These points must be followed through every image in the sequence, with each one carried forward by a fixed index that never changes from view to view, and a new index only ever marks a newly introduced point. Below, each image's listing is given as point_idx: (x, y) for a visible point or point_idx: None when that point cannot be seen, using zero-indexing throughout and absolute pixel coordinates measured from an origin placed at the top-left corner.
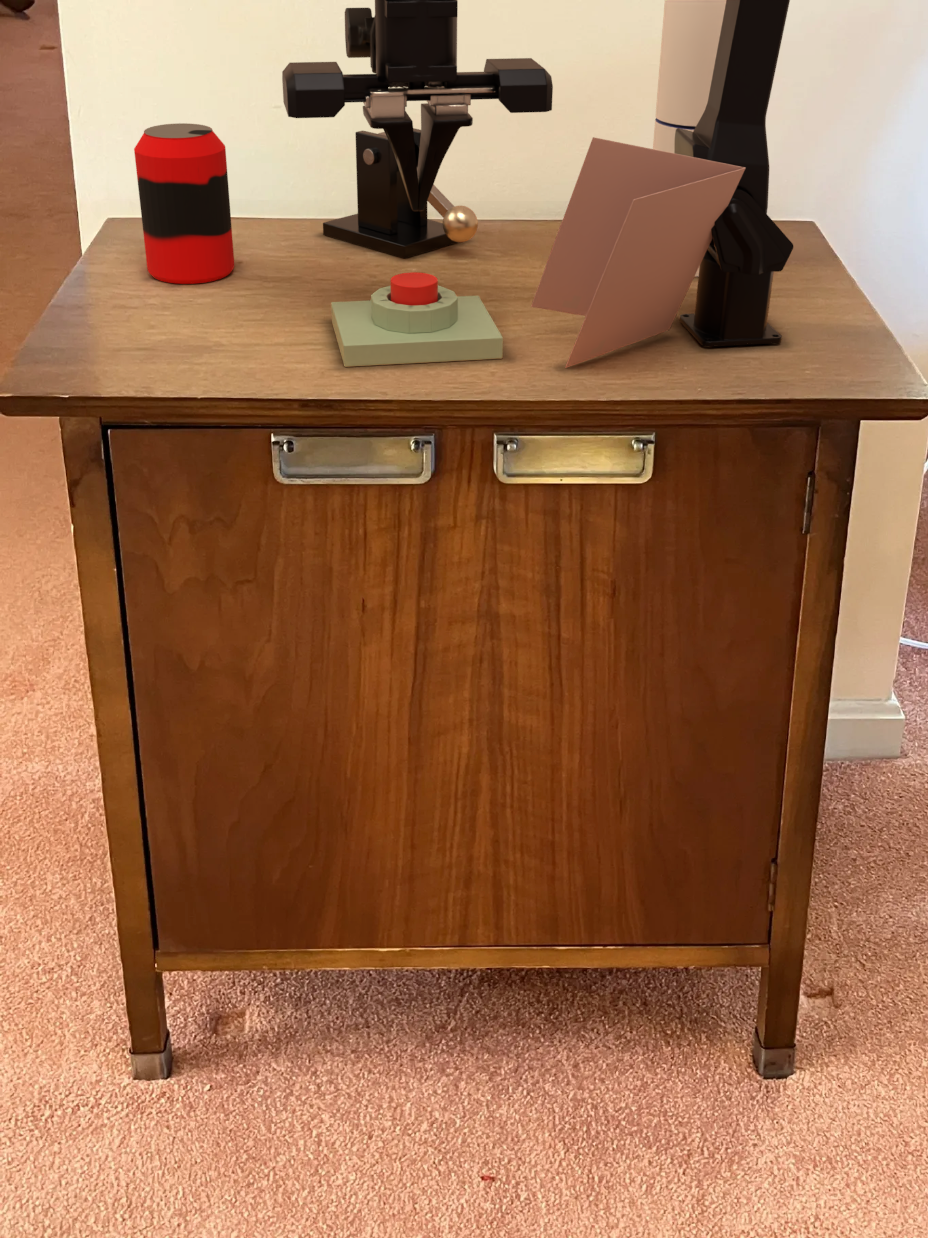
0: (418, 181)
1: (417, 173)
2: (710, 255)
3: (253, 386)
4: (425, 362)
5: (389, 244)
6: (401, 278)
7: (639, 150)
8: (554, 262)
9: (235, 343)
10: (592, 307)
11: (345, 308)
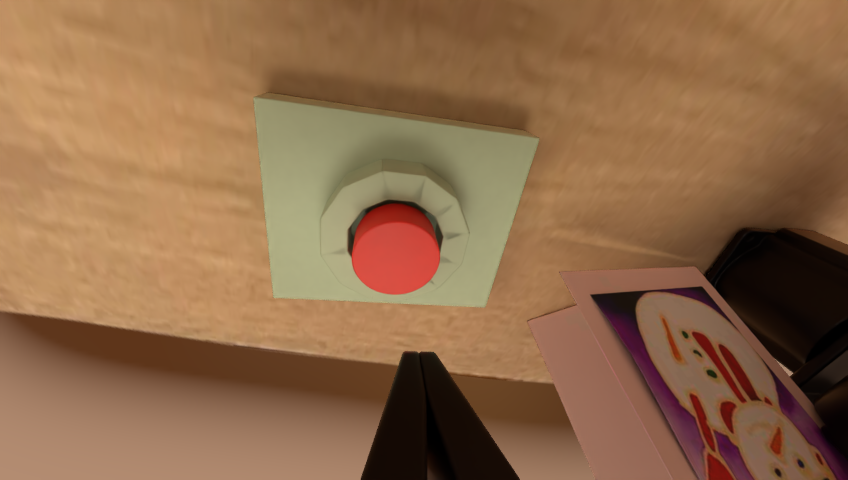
0: (428, 447)
1: (440, 444)
2: (836, 334)
3: (162, 308)
4: None
5: None
6: (374, 251)
7: None
8: (612, 351)
9: (87, 152)
10: (570, 408)
11: (282, 146)
